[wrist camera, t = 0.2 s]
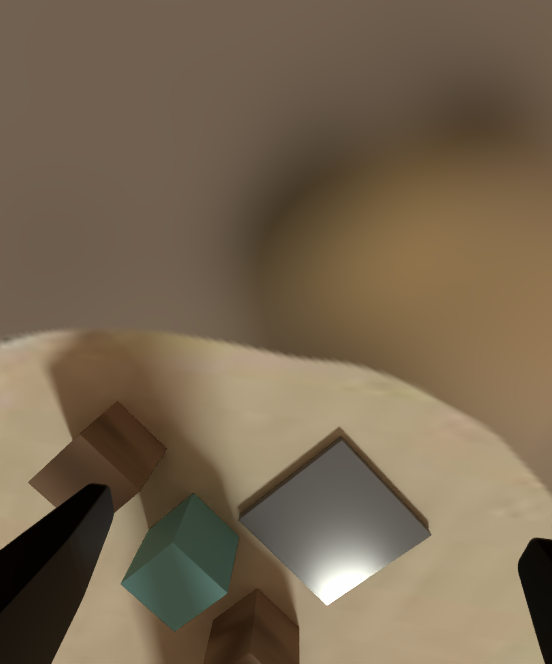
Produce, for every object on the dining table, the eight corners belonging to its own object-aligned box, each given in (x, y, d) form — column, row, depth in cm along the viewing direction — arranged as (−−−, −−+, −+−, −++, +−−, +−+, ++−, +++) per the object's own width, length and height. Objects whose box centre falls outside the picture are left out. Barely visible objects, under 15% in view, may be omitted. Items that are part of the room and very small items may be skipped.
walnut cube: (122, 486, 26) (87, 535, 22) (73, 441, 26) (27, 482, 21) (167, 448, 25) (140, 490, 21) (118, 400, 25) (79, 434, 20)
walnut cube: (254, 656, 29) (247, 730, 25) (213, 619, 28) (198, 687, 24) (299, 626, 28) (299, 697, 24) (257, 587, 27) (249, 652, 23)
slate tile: (326, 598, 27) (326, 605, 27) (239, 515, 26) (238, 520, 26) (429, 529, 25) (431, 535, 25) (341, 436, 24) (341, 440, 24)
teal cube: (194, 569, 27) (174, 631, 23) (149, 528, 27) (120, 584, 22) (239, 535, 27) (227, 593, 22) (193, 492, 26) (172, 542, 22)
